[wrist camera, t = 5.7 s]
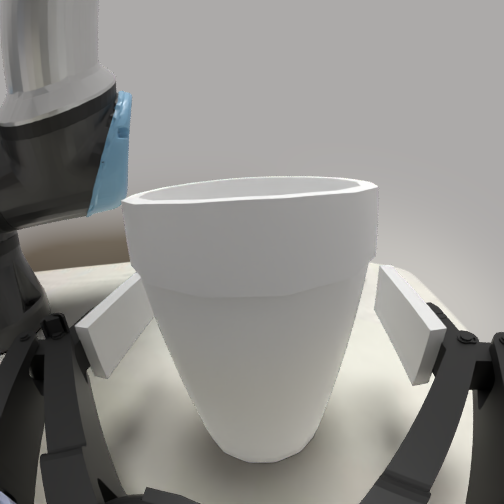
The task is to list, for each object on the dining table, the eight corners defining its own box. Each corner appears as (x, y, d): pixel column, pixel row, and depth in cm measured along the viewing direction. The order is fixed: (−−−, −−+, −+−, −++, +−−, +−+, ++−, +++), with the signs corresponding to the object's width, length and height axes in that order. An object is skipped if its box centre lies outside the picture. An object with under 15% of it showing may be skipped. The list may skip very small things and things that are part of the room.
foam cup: (184, 379, 18) (149, 187, 14) (311, 360, 20) (315, 174, 16) (187, 497, 9) (80, 221, 6) (368, 459, 11) (435, 194, 7)
